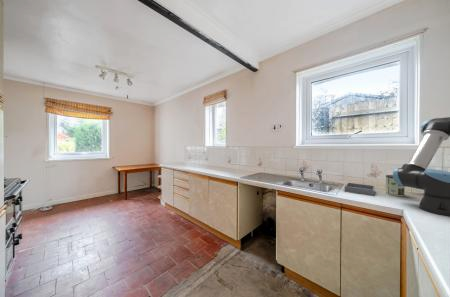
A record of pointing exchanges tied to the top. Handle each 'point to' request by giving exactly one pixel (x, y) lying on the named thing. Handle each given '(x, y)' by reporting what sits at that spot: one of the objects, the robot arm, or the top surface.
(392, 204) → the top surface
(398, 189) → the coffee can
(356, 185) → the tray
